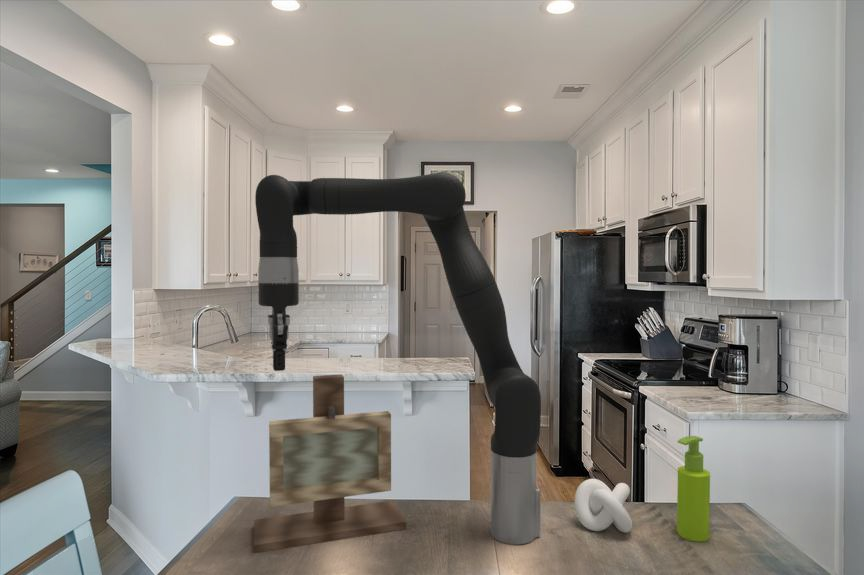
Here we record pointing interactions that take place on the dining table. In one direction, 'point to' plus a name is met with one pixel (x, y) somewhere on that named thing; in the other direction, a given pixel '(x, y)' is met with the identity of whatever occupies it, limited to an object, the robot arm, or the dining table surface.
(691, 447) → the soap dispenser
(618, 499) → the white decorative knot
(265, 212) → the robot arm
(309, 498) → the frame
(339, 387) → the stand
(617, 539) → the dining table surface
